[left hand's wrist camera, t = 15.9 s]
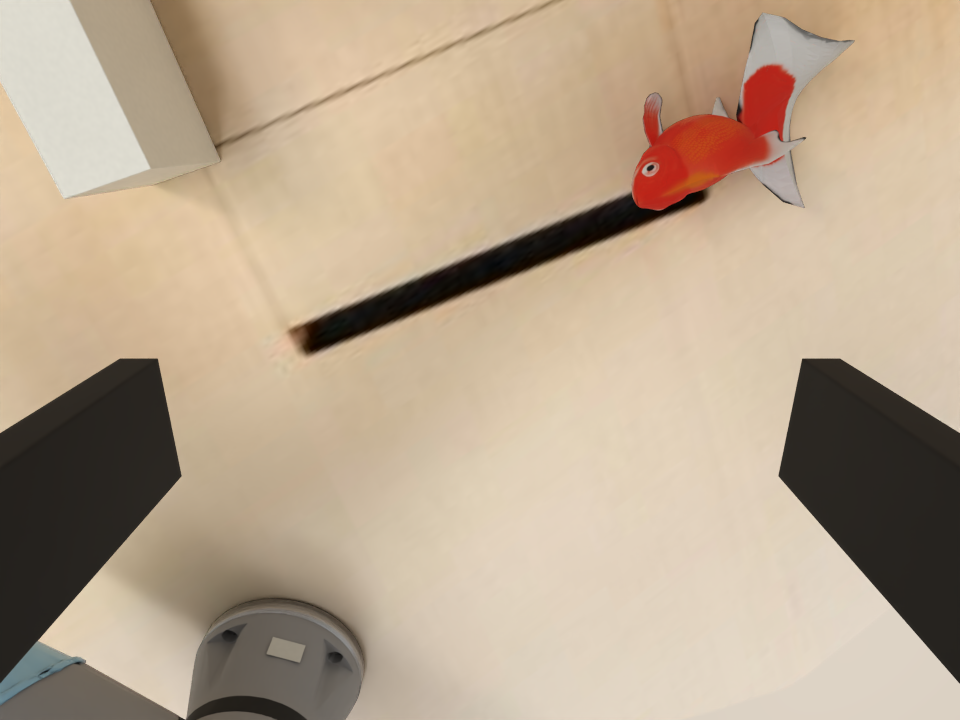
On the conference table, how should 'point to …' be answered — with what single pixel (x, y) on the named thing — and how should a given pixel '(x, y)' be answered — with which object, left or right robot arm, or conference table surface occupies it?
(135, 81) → the bar
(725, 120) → the fish
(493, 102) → the conference table surface
